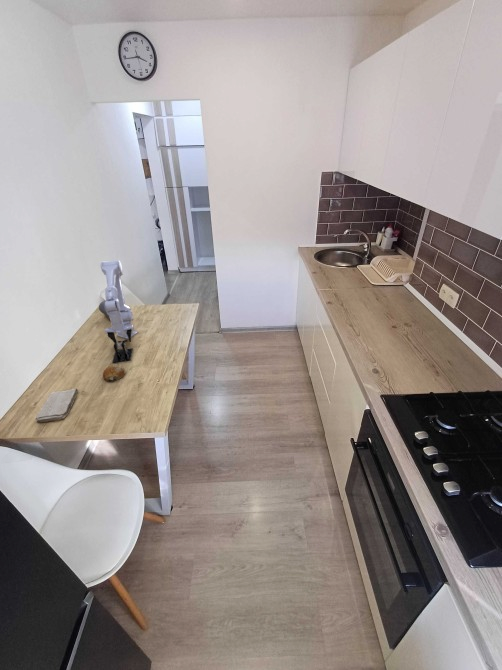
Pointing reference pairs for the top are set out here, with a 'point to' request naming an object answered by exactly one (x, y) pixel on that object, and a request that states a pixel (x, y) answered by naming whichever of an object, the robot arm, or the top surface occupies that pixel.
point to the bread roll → (113, 372)
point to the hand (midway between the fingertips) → (123, 342)
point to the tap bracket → (122, 353)
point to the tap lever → (120, 344)
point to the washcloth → (57, 405)
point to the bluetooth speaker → (102, 308)
